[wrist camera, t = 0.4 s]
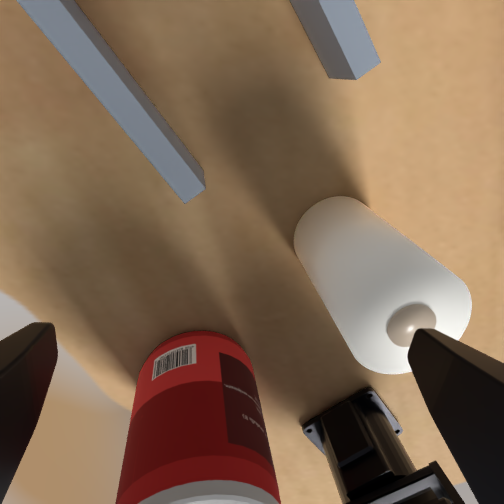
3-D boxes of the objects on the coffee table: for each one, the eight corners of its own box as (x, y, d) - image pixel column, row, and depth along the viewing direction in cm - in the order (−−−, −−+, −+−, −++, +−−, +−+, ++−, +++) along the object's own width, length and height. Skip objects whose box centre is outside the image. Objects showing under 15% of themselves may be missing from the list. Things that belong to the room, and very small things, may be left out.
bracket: (349, 63, 19) (387, 62, 15) (185, 183, 20) (184, 208, 17) (212, -224, 14) (220, -329, 10) (8, -39, 15) (-50, -73, 12)
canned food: (121, 397, 26) (79, 592, 16) (169, 310, 24) (153, 479, 14) (218, 423, 29) (233, 606, 19) (271, 347, 26) (319, 512, 16)
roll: (387, 243, 24) (489, 332, 16) (319, 287, 25) (382, 395, 16) (352, 178, 22) (449, 243, 13) (277, 229, 22) (327, 320, 14)
